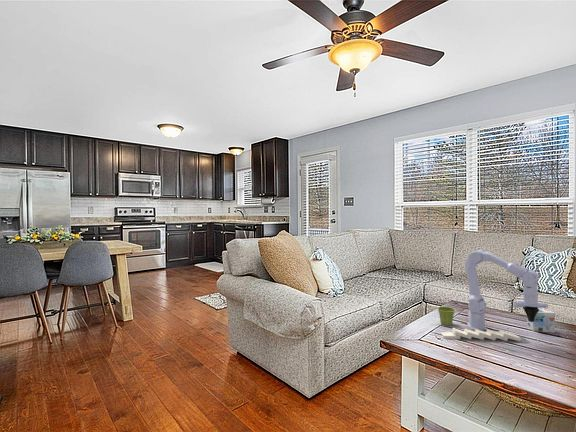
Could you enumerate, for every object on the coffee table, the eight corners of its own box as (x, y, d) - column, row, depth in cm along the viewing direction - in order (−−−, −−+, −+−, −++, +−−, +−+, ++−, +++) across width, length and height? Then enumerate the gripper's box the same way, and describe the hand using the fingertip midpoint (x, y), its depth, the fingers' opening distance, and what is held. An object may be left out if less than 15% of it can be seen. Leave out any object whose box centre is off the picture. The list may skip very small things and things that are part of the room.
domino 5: (507, 341, 161) (490, 335, 162) (502, 337, 166) (486, 332, 167) (508, 338, 161) (491, 332, 162) (503, 334, 166) (487, 329, 167)
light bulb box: (532, 331, 173) (532, 311, 172) (526, 327, 179) (526, 308, 179) (555, 332, 170) (555, 312, 170) (548, 328, 177) (548, 309, 176)
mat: (452, 334, 172) (452, 334, 172) (522, 337, 166) (522, 336, 166) (457, 340, 164) (457, 340, 164) (531, 343, 158) (531, 343, 158)
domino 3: (483, 340, 163) (467, 335, 164) (479, 336, 168) (463, 331, 169) (484, 337, 163) (468, 332, 164) (480, 333, 168) (464, 328, 169)
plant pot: (442, 319, 195) (441, 305, 195) (458, 323, 187) (458, 308, 187) (434, 323, 189) (434, 308, 189) (451, 327, 182) (450, 312, 181)
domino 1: (460, 338, 165) (444, 339, 166) (457, 335, 170) (441, 335, 171) (460, 335, 165) (443, 335, 166) (456, 332, 170) (441, 332, 171)
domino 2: (470, 339, 164) (454, 333, 165) (467, 335, 169) (451, 330, 170) (471, 336, 164) (455, 331, 165) (468, 332, 169) (452, 327, 170)
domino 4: (495, 340, 162) (478, 335, 163) (490, 336, 167) (474, 331, 168) (496, 337, 162) (479, 332, 163) (491, 333, 167) (475, 328, 168)
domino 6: (519, 341, 160) (502, 336, 161) (514, 337, 165) (498, 332, 166) (520, 338, 160) (503, 333, 161) (515, 334, 165) (499, 329, 166)
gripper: (518, 296, 158) (519, 323, 159) (551, 297, 156) (552, 324, 156) (511, 292, 165) (511, 318, 165) (543, 293, 162) (543, 319, 163)
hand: (530, 321), depth 161 cm, fingers closed
